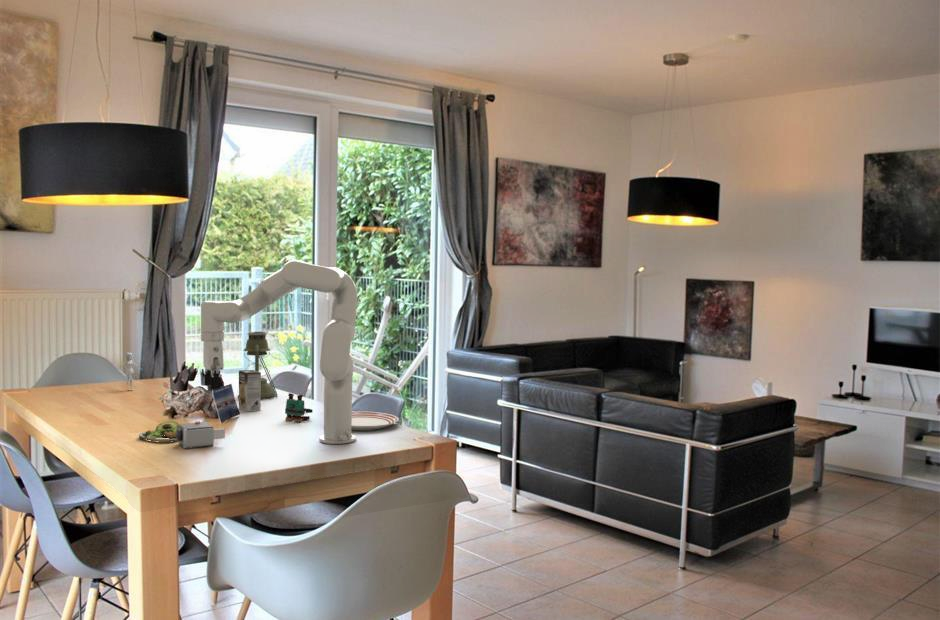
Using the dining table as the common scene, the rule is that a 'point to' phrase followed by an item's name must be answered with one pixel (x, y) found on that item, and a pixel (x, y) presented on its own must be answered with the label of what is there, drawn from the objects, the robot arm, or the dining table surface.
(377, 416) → the dinner plate
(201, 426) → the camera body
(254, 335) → the green desk lamp
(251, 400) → the coffee box
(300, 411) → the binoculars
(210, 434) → the side door
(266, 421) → the dining table surface
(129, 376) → the human figurine
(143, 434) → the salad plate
